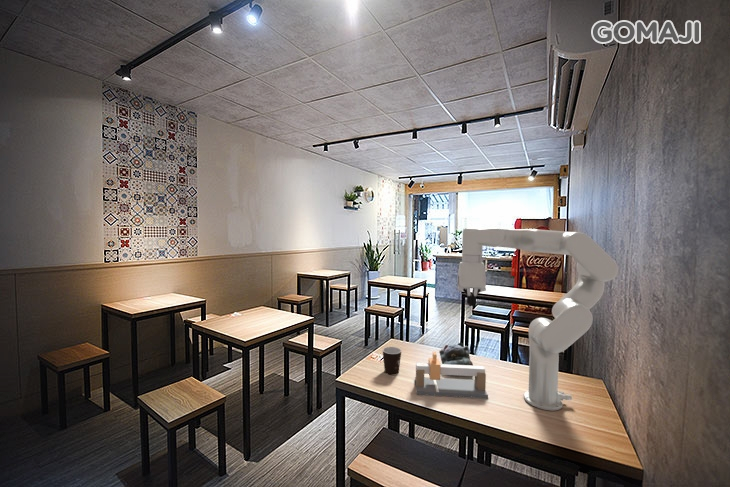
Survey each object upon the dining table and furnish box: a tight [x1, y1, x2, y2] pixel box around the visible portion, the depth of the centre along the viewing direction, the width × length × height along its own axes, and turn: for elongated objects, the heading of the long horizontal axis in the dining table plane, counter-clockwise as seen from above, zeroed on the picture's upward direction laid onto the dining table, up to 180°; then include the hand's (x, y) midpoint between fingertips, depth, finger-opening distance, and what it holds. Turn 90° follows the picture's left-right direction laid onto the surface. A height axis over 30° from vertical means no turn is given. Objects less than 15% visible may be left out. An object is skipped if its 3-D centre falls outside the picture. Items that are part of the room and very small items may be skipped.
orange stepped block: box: [428, 351, 441, 380], centre depth 127 cm, size 4×6×10 cm, turn 175°
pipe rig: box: [414, 362, 489, 400], centre depth 126 cm, size 27×12×10 cm, turn 85°
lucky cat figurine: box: [439, 342, 474, 366], centre depth 143 cm, size 15×12×14 cm
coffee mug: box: [382, 346, 402, 376], centre depth 142 cm, size 12×9×10 cm
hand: (471, 305), depth 123 cm, fingers closed
